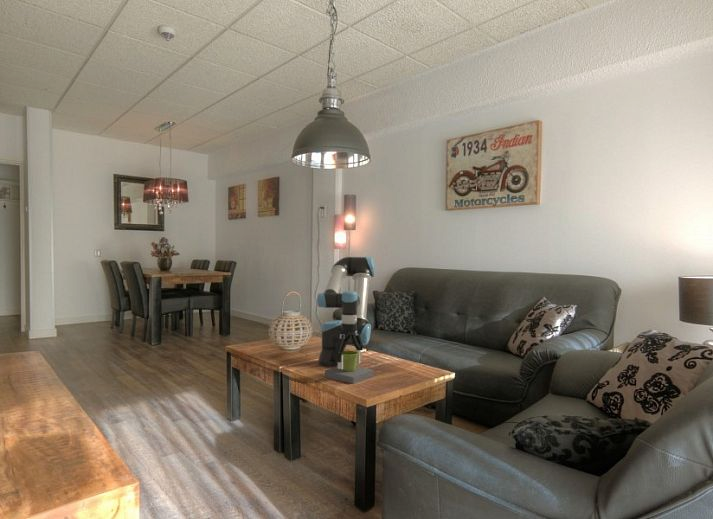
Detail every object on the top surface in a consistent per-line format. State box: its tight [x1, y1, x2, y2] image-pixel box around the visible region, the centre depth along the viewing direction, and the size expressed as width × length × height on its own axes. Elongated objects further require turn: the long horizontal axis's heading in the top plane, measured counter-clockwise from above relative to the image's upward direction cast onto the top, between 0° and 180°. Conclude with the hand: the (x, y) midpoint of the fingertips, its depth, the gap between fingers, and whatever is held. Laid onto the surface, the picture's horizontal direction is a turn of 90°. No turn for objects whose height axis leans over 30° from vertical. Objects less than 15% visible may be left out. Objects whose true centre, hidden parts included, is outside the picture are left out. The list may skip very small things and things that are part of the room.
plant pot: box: [342, 350, 359, 372], centre depth 210 cm, size 9×9×9 cm
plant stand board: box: [324, 365, 374, 384], centre depth 210 cm, size 18×16×3 cm
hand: (349, 365), depth 210 cm, fingers open, 13 cm apart
